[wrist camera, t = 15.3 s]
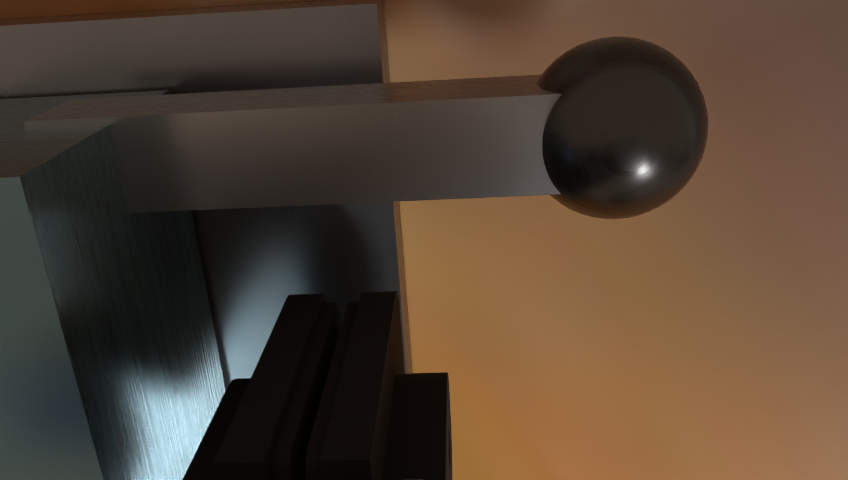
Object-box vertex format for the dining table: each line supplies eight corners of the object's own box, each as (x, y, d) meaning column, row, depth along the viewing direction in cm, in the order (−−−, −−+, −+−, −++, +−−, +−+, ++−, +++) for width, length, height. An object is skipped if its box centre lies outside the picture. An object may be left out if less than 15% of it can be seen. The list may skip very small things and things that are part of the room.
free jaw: (678, 18, 10) (803, 72, 6) (642, 562, 14) (709, 794, 10) (-74, 60, 11) (-347, 132, 7) (83, 570, 14) (-44, 791, 11)
